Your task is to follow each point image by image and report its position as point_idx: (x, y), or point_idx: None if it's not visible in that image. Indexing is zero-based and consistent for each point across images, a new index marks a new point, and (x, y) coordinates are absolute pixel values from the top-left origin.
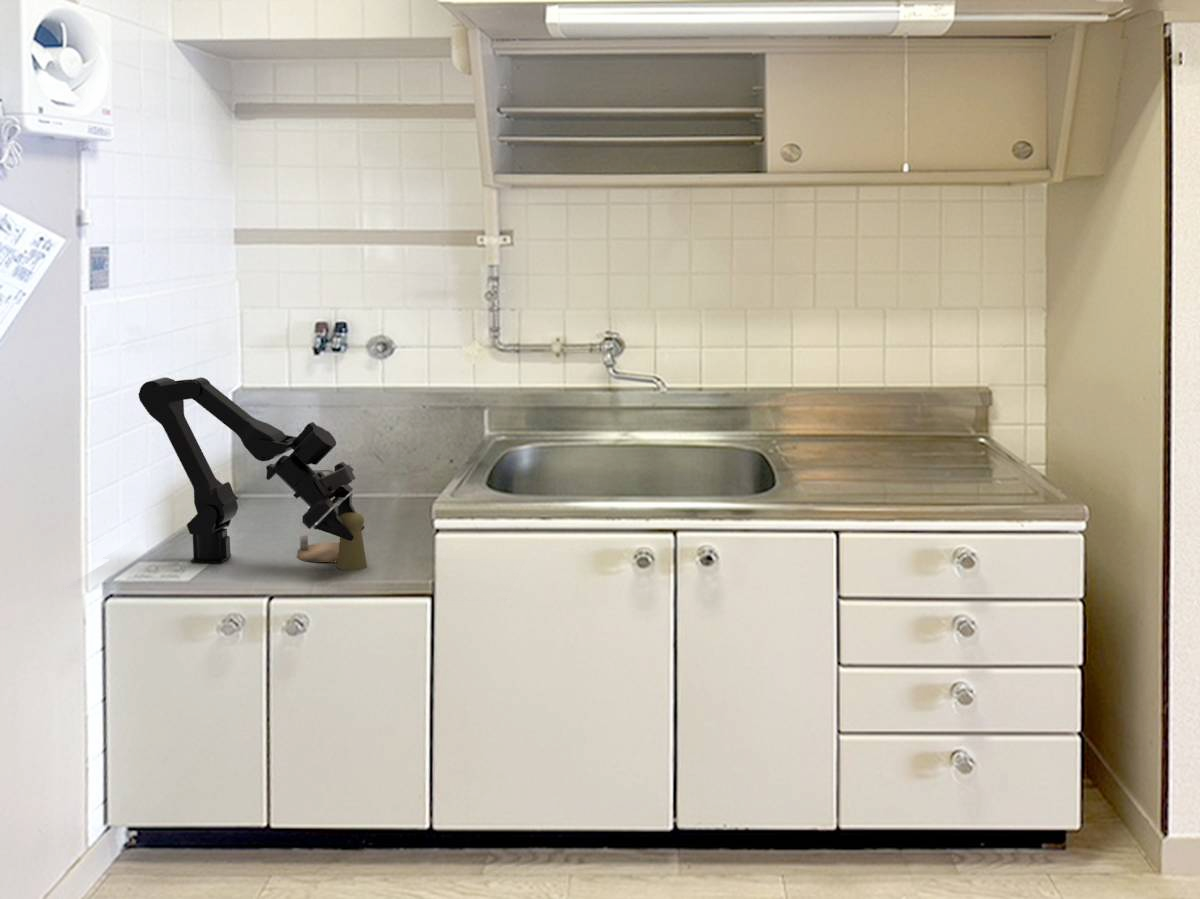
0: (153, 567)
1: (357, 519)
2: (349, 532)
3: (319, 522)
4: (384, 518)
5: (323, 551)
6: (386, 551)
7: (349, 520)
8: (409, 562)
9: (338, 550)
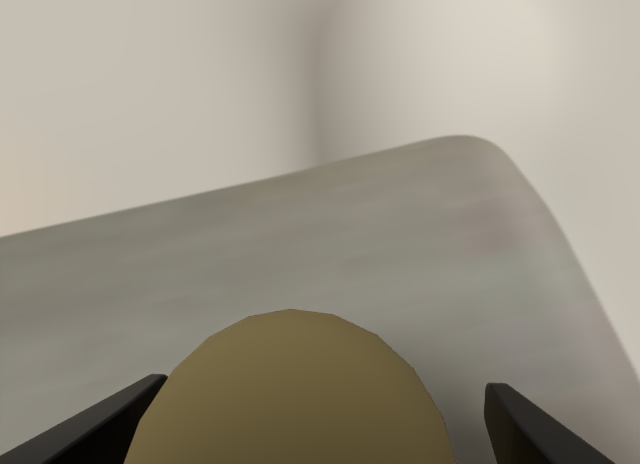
0: None
1: (385, 347)
2: (556, 422)
3: None
4: None
5: None
6: (92, 338)
7: (446, 458)
8: (263, 221)
9: None
